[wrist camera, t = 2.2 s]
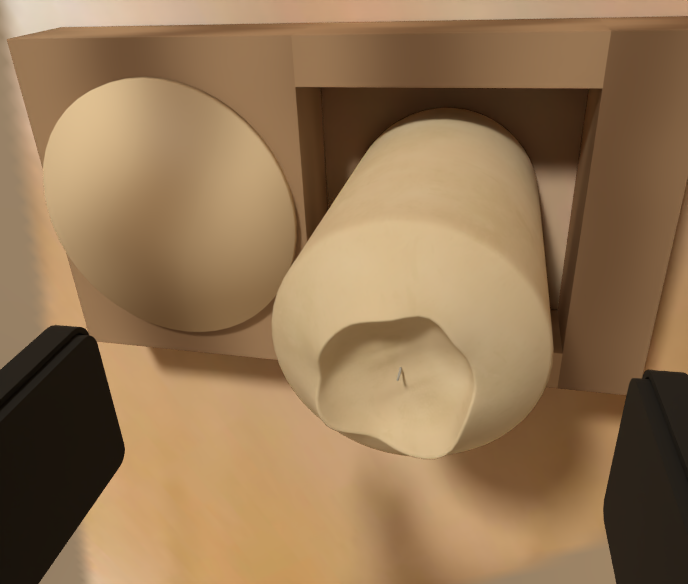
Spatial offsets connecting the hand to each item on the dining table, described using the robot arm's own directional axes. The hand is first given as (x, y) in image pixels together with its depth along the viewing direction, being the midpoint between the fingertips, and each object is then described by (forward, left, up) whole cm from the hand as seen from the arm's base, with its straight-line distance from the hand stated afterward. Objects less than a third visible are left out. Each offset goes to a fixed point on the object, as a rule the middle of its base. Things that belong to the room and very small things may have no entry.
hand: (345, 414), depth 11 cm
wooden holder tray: (+2, 0, -10) cm, 11 cm away
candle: (-1, 0, -11) cm, 11 cm away
